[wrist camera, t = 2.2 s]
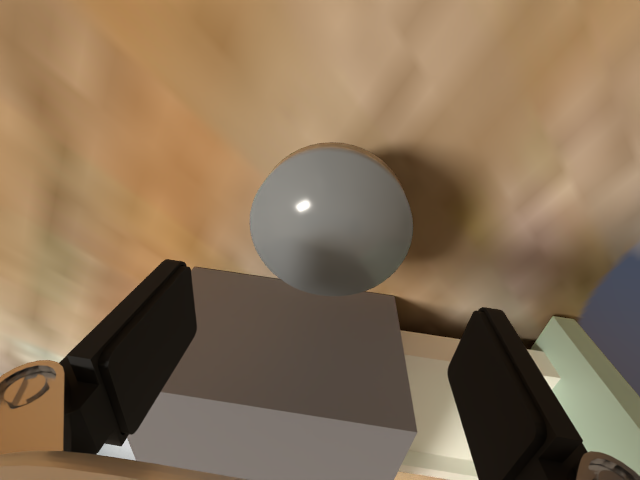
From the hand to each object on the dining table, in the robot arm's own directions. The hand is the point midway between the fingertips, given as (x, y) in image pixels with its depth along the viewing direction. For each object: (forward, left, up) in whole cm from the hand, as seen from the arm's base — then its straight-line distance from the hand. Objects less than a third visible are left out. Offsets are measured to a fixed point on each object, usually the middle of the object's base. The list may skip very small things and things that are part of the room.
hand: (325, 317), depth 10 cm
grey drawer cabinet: (+15, -2, -9) cm, 18 cm away
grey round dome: (-1, 0, -6) cm, 6 cm away
